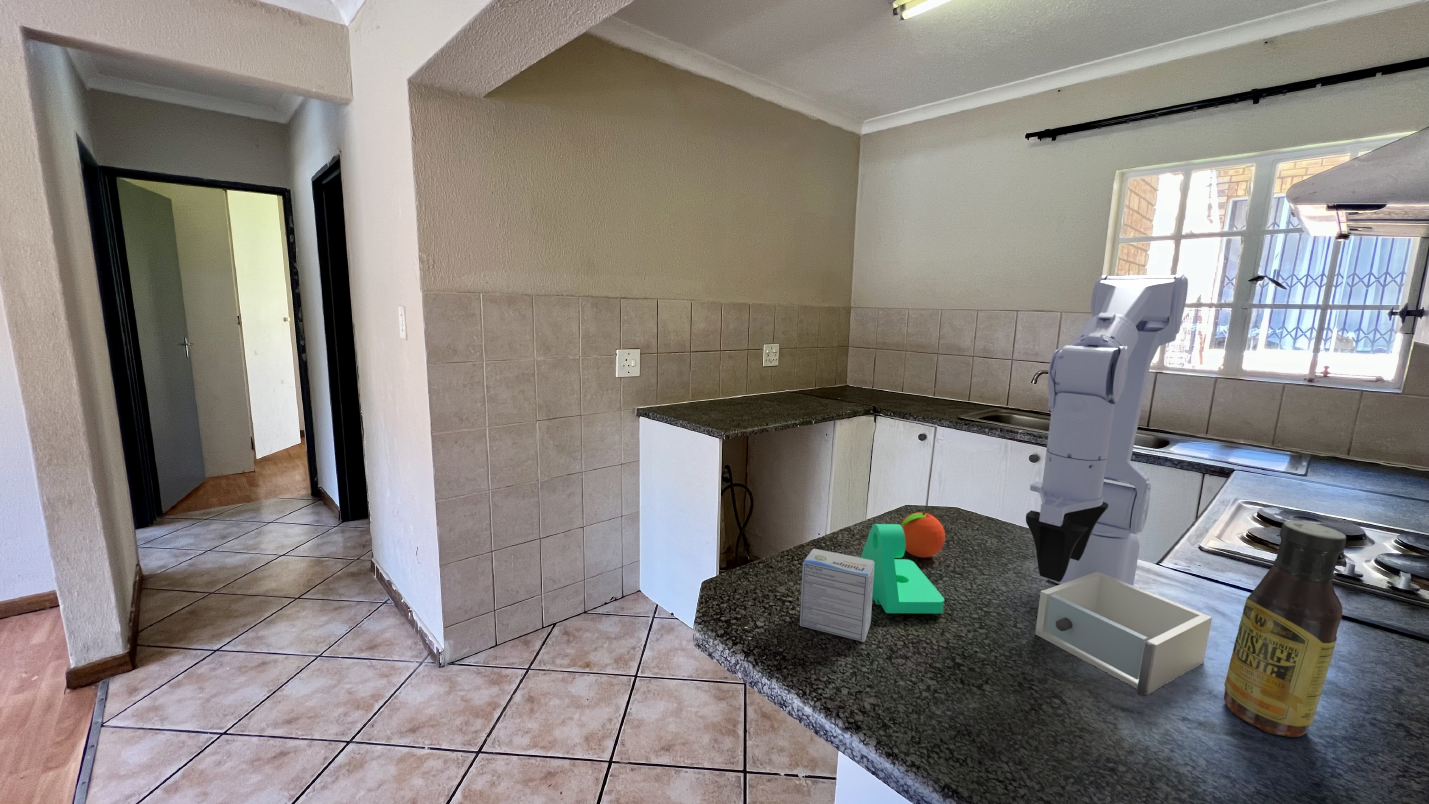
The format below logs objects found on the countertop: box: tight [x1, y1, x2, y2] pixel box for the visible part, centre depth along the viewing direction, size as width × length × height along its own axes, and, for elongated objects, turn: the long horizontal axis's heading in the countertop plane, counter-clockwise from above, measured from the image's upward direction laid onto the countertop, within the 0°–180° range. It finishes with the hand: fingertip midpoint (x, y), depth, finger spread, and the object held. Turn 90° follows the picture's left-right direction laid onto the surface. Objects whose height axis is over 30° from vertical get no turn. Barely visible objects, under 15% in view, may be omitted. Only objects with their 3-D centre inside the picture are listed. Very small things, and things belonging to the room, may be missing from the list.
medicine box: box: [799, 548, 875, 643], centre depth 68 cm, size 8×4×9 cm, turn 65°
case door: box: [1046, 595, 1148, 680], centre depth 62 cm, size 2×10×5 cm, turn 28°
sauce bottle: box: [1223, 520, 1347, 738], centre depth 53 cm, size 6×6×20 cm
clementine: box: [900, 511, 946, 558], centre depth 88 cm, size 8×7×7 cm
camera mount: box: [860, 523, 945, 614], centre depth 76 cm, size 12×8×10 cm, turn 2°
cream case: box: [1034, 571, 1213, 696], centre depth 65 cm, size 13×12×6 cm
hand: (1060, 567), depth 65 cm, fingers open, 7 cm apart
